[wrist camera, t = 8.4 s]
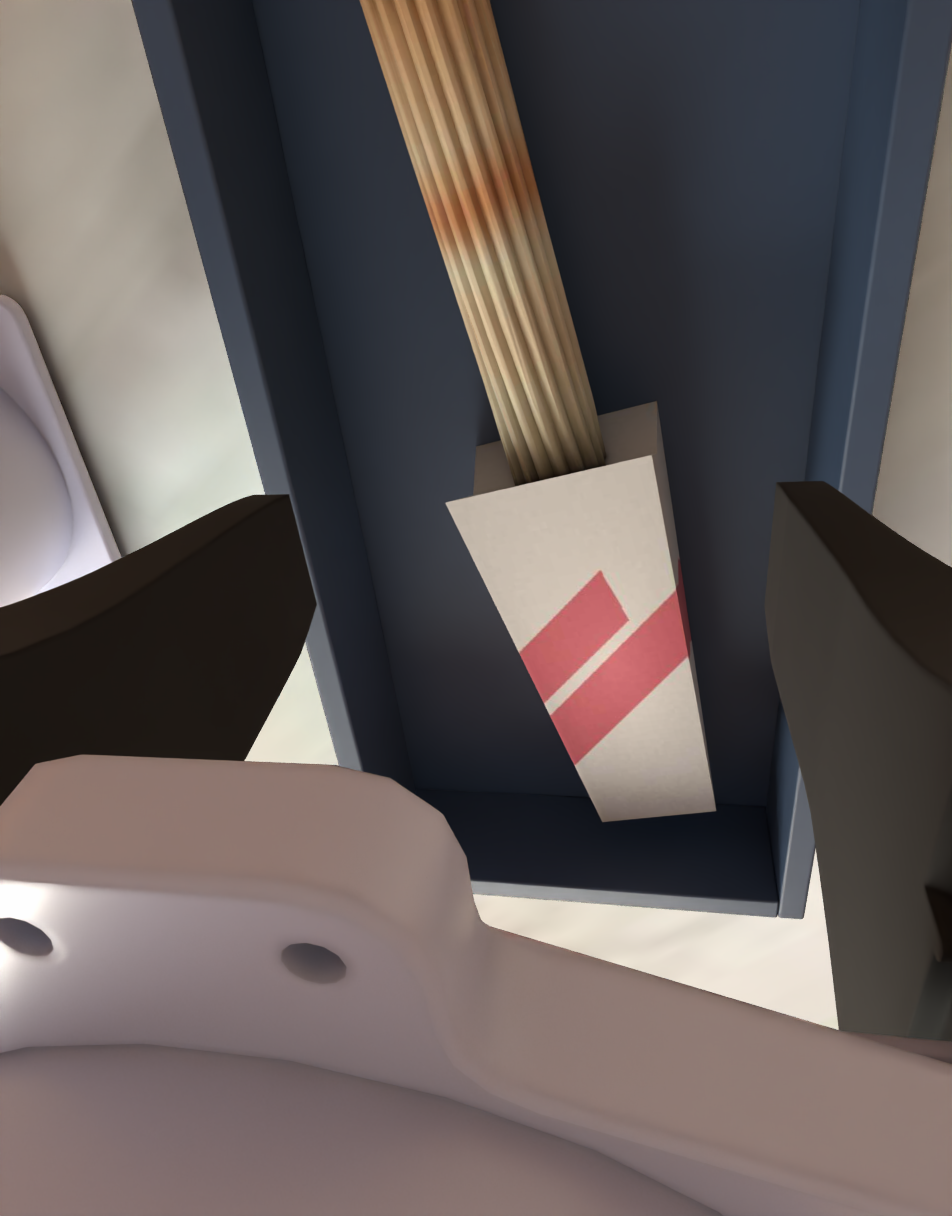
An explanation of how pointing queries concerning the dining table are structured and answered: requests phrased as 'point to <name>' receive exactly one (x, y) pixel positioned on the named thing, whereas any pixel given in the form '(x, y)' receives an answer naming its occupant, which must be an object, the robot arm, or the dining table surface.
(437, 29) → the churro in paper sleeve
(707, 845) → the tray
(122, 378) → the dining table surface
